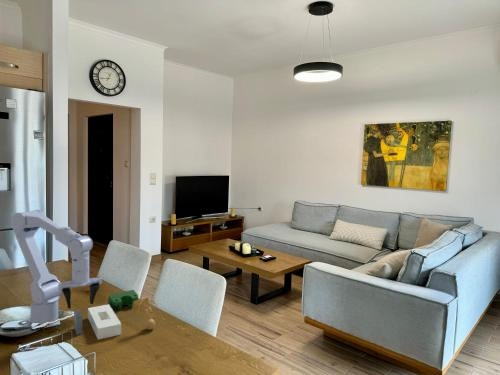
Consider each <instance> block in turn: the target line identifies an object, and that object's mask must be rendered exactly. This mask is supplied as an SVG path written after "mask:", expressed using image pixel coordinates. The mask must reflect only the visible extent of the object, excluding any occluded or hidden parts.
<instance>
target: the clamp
mask: <svg viewBox="0 0 500 375" xmlns="http://www.w3.org/2000/svg"><path fill="white" fill-rule="evenodd" d="M137 300H139V294H138V293H137V292H136V291H135V290H134V289H130V290H127V291H126V290H125V291H122V292H118V293H113V294H109V295H108V299H107V305H108V304H109V305H110V307H111V308H112V309H116V308H117V309H118V310H119V311H122V307H123V305H124V306H129V307H130V308H133V304H134V302H135V301H137Z"/></svg>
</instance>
